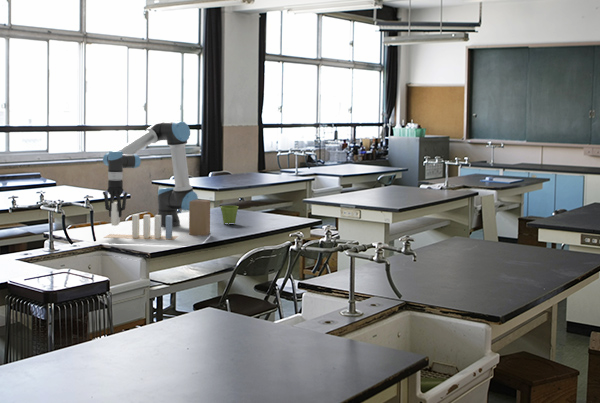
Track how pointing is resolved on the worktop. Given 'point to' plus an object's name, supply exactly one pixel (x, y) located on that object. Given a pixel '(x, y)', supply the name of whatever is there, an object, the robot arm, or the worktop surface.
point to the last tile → (168, 226)
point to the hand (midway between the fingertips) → (115, 222)
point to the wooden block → (199, 217)
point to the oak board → (138, 237)
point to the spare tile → (114, 213)
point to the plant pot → (229, 213)
